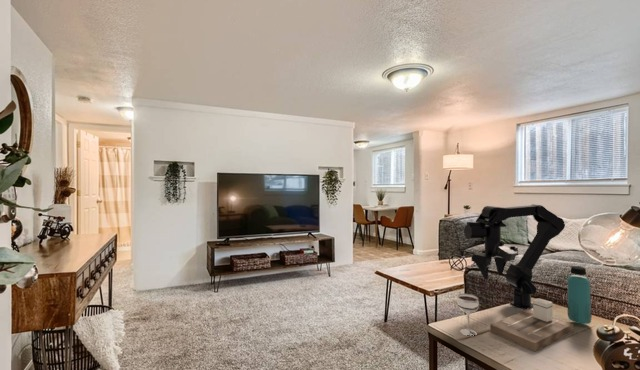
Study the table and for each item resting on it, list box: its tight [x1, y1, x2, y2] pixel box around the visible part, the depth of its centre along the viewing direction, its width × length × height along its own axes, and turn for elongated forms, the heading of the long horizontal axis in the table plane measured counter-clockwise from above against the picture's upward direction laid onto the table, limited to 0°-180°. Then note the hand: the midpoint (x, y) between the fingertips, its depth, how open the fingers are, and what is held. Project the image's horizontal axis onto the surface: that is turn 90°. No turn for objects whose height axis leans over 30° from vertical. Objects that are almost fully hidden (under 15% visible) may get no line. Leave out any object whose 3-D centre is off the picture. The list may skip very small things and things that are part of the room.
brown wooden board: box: [489, 308, 574, 352], centre depth 106 cm, size 23×14×3 cm, turn 118°
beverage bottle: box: [566, 265, 593, 325], centre depth 110 cm, size 6×7×20 cm
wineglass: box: [456, 293, 480, 337], centre depth 106 cm, size 7×7×12 cm
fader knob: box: [532, 298, 554, 322], centre depth 109 cm, size 4×4×6 cm
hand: (493, 277), depth 126 cm, fingers open, 9 cm apart
